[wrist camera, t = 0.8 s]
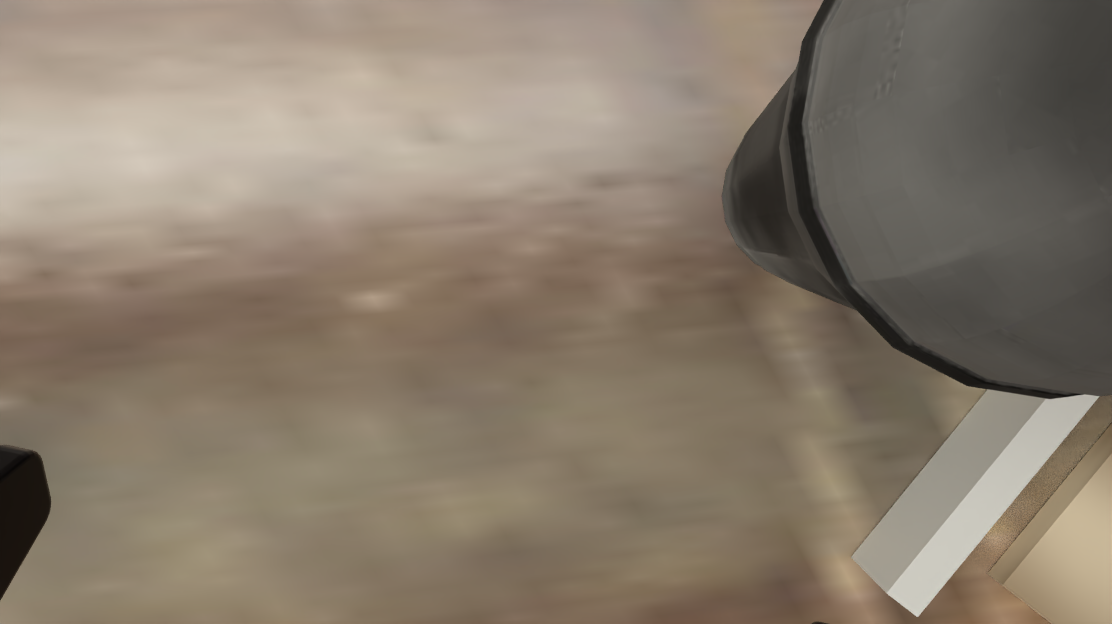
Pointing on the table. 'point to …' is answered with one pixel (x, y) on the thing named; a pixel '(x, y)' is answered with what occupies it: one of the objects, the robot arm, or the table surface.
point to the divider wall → (964, 492)
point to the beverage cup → (947, 184)
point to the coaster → (1068, 547)
